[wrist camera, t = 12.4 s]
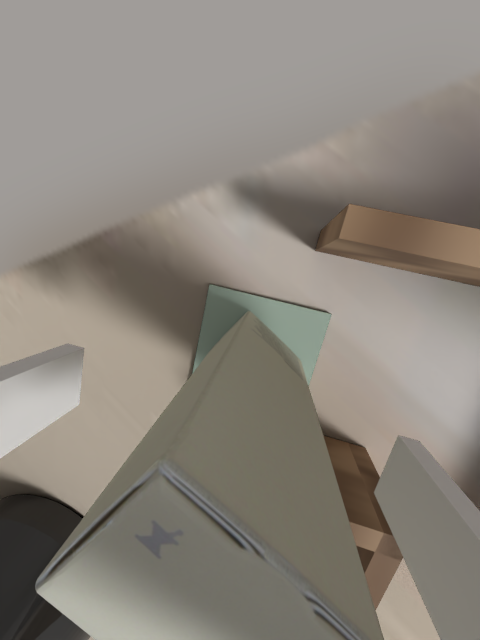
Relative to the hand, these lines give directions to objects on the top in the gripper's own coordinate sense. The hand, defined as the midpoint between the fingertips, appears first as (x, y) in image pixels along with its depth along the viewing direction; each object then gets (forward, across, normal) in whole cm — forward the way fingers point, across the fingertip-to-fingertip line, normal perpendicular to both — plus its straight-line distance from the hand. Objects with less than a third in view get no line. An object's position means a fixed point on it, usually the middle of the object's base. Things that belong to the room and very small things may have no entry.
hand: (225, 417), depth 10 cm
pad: (+7, +1, 0) cm, 7 cm away
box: (+7, +1, 0) cm, 7 cm away
